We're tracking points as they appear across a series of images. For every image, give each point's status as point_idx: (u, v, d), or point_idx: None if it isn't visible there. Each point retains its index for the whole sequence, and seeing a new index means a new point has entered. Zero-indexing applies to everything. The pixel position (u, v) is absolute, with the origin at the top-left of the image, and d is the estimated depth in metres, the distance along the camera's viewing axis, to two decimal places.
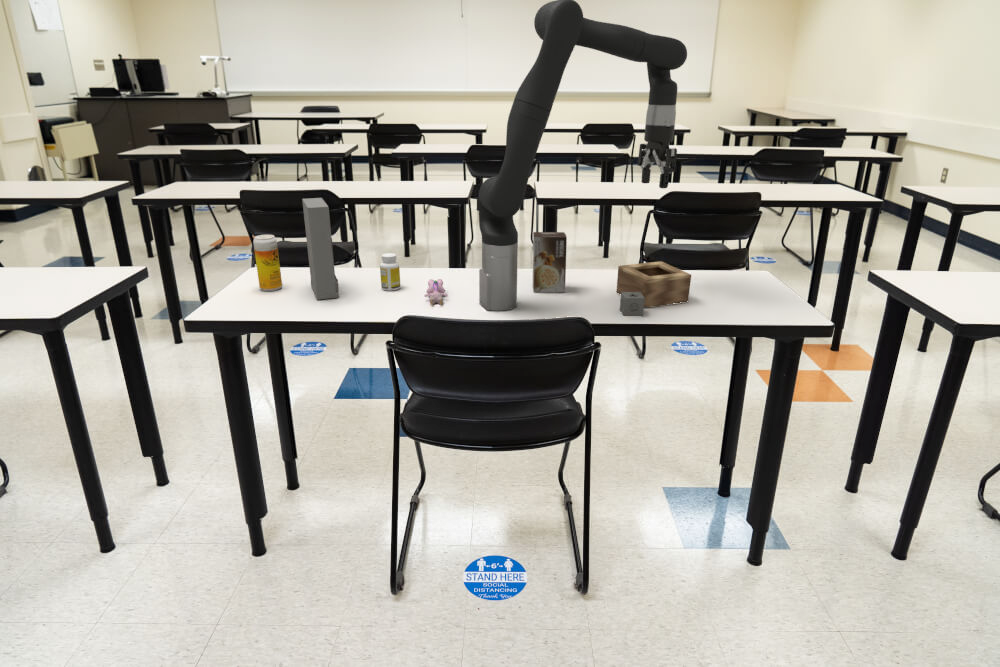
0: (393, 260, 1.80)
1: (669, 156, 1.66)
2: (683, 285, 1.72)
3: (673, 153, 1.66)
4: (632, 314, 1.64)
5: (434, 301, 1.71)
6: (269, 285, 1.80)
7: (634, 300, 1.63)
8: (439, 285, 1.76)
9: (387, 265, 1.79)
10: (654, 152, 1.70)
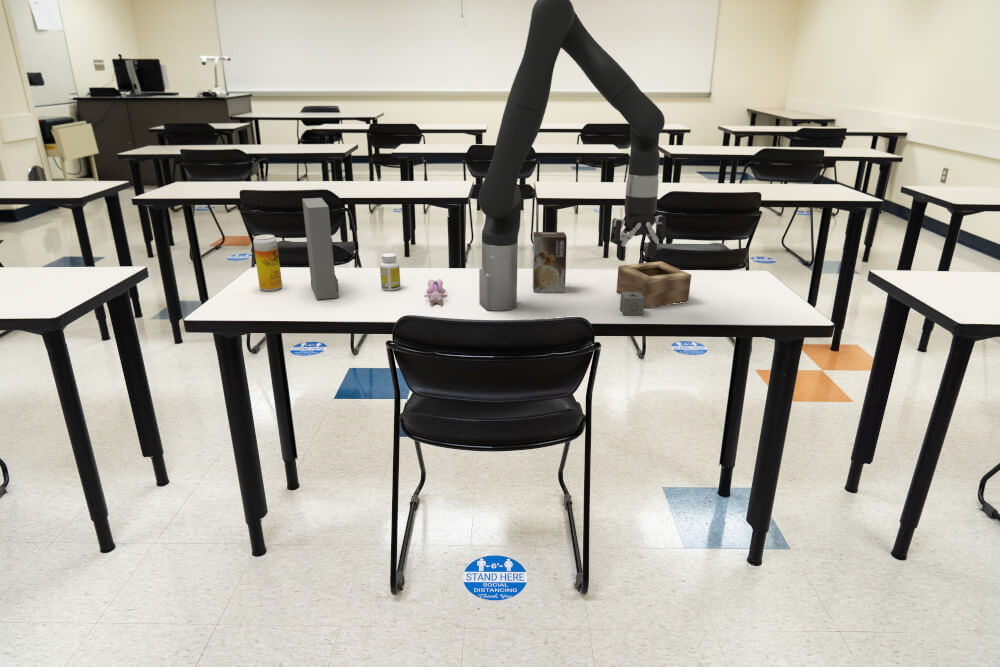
0: (393, 260, 1.80)
1: None
2: (683, 285, 1.72)
3: None
4: (632, 314, 1.64)
5: (434, 301, 1.71)
6: (269, 285, 1.80)
7: (634, 300, 1.63)
8: (439, 285, 1.76)
9: (387, 265, 1.79)
10: (648, 224, 1.57)
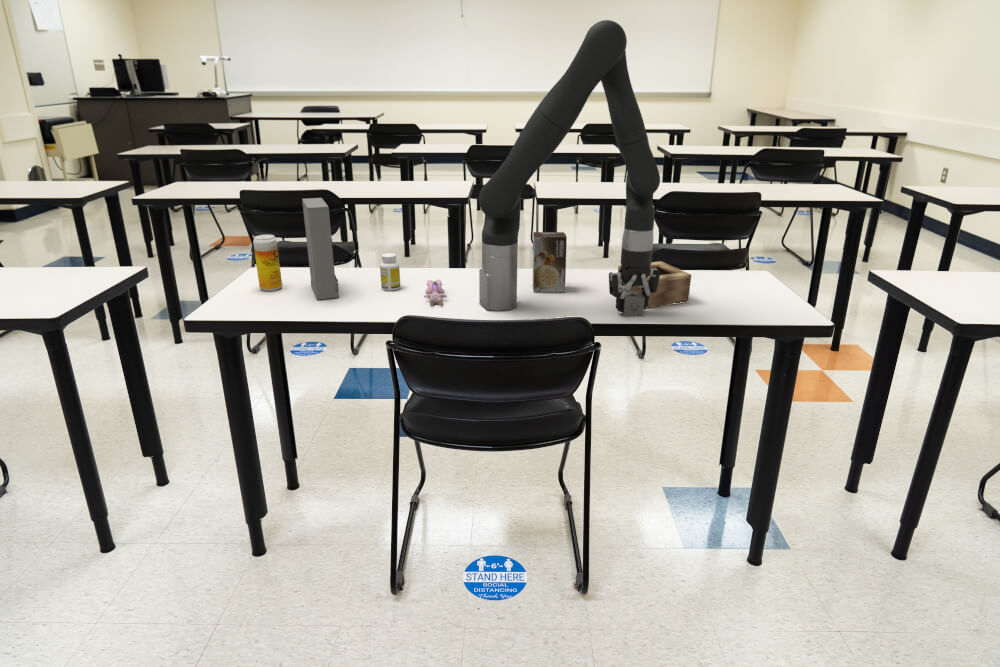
0: (393, 260, 1.80)
1: None
2: (683, 285, 1.72)
3: None
4: (632, 314, 1.64)
5: (434, 302, 1.71)
6: (269, 285, 1.80)
7: (634, 300, 1.63)
8: (438, 286, 1.76)
9: (387, 265, 1.79)
10: (643, 276, 1.61)
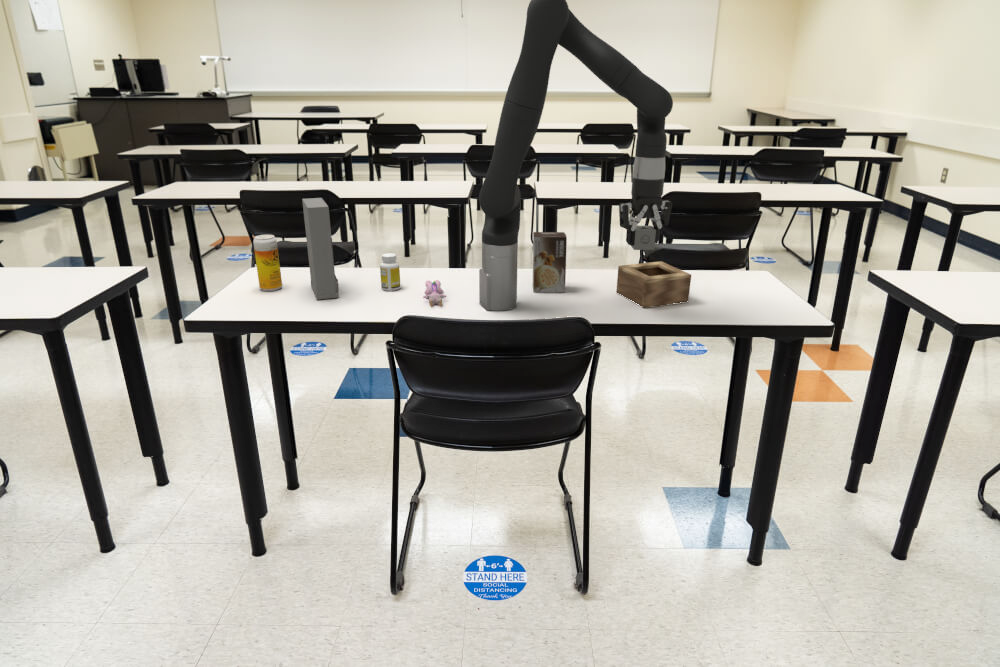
0: (393, 260, 1.80)
1: None
2: (683, 285, 1.72)
3: None
4: (643, 247, 1.60)
5: (433, 302, 1.70)
6: (269, 285, 1.80)
7: (645, 232, 1.58)
8: (437, 286, 1.75)
9: (387, 265, 1.79)
10: (655, 207, 1.57)
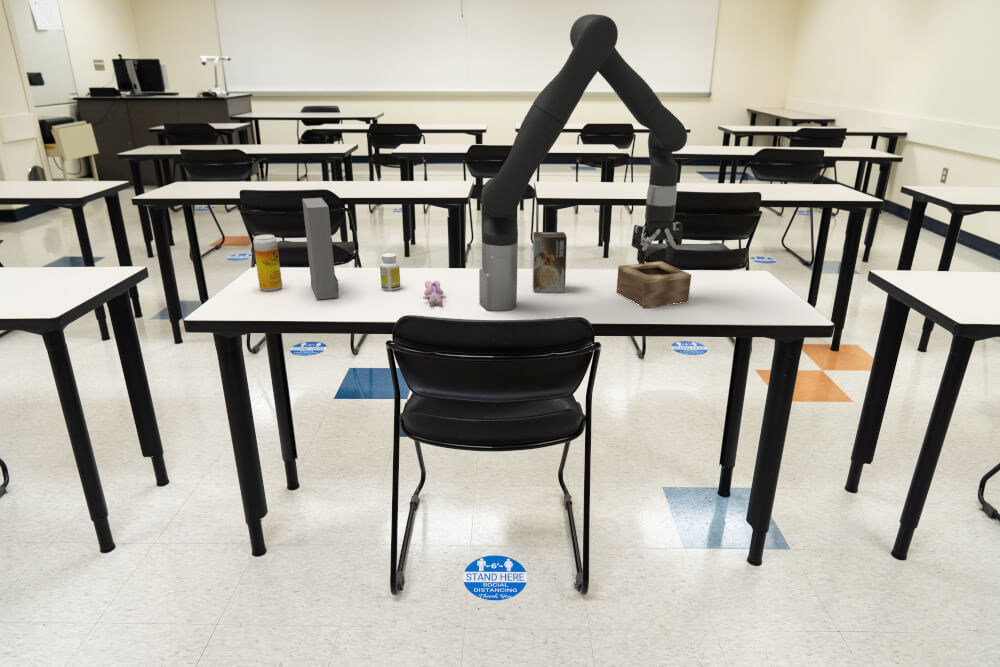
0: (393, 260, 1.80)
1: None
2: (683, 285, 1.72)
3: None
4: None
5: (433, 303, 1.70)
6: (269, 285, 1.80)
7: None
8: (437, 287, 1.75)
9: (387, 265, 1.79)
10: (667, 230, 1.70)
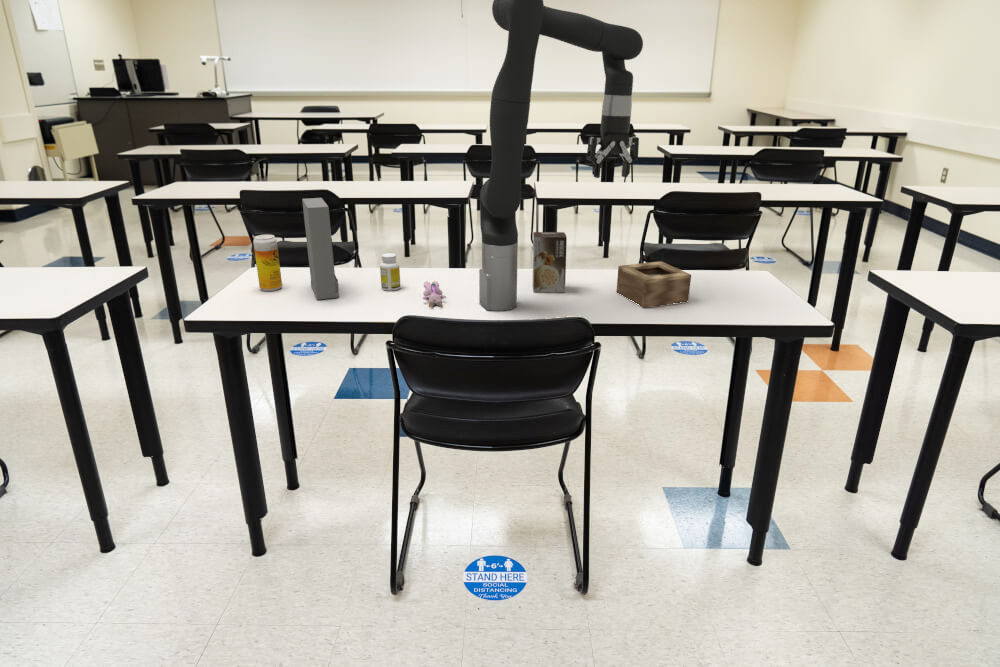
0: (393, 260, 1.80)
1: None
2: (683, 285, 1.72)
3: None
4: None
5: (433, 303, 1.70)
6: (269, 285, 1.80)
7: None
8: (436, 287, 1.75)
9: (387, 265, 1.79)
10: (622, 143, 1.69)
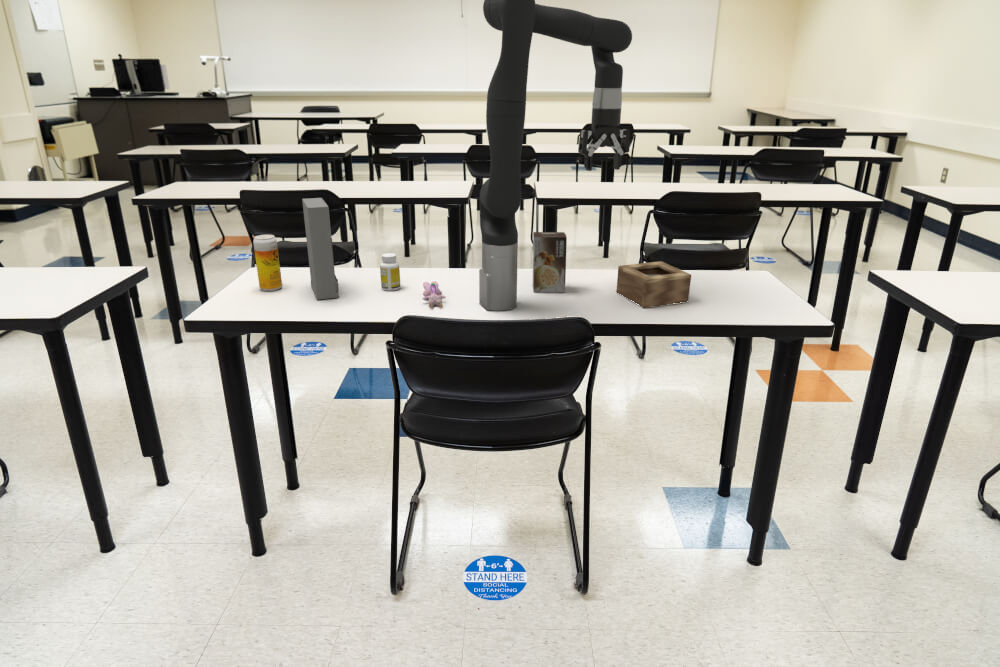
0: (393, 260, 1.80)
1: None
2: (683, 285, 1.72)
3: None
4: None
5: (433, 304, 1.69)
6: (269, 285, 1.80)
7: None
8: (436, 287, 1.74)
9: (387, 265, 1.79)
10: (613, 136, 1.70)
